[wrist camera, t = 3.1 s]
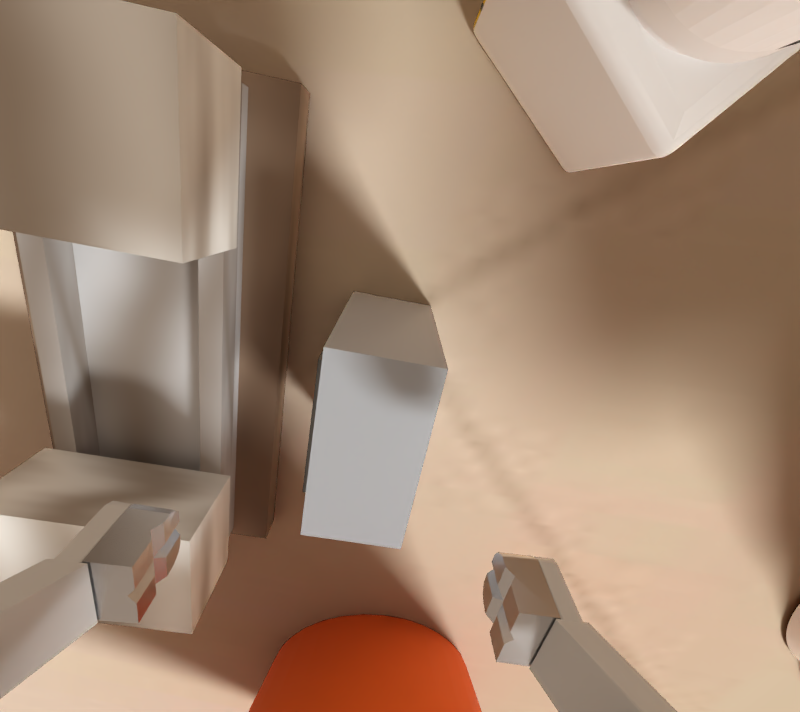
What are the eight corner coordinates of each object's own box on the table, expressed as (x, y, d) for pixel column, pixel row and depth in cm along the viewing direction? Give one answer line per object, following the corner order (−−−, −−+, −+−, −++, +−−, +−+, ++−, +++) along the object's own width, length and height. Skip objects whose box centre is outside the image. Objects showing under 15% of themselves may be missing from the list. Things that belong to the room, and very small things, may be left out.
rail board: (309, 93, 16) (239, 12, 9) (273, 519, 25) (224, 642, 18) (10, 27, 15) (-317, -118, 8) (83, 491, 24) (-44, 609, 17)
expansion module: (430, 305, 20) (448, 369, 12) (401, 434, 23) (401, 549, 15) (347, 289, 19) (313, 345, 12) (329, 422, 22) (292, 533, 15)
